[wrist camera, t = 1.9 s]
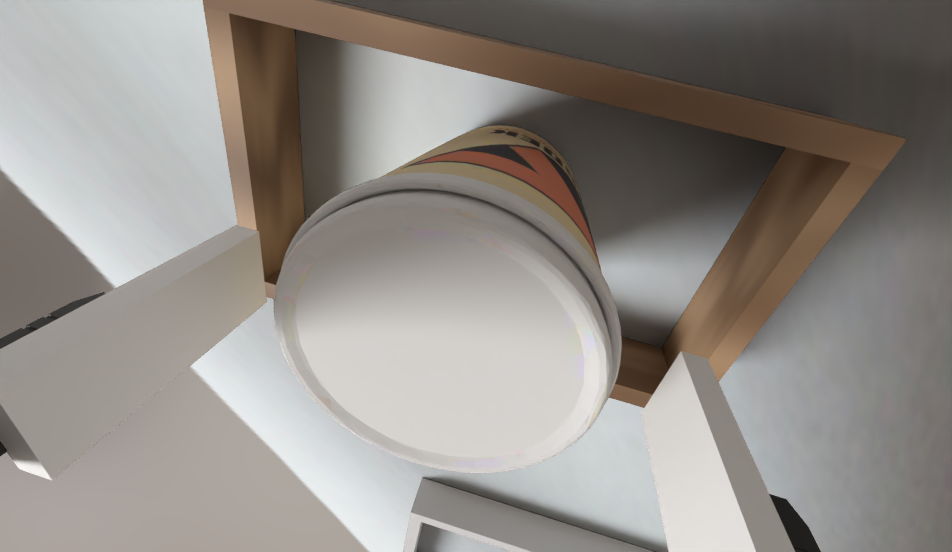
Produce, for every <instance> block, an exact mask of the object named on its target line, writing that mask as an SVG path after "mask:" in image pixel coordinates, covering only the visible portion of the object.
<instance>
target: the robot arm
mask: <svg viewBox="0 0 952 552" xmlns="http://www.w3.org/2000/svg"><path fill="white" fill-rule="evenodd" d="M266 302H267V299H266V290H265V281H264V272H263V263H262V254H261V245H260V236H259V231H255V230H252V229H248V228H245V227H241V226H238V225H236V226H234V227H232V228H230V229H228V230H226V231H224V232H222V233H220V234H219V235H217V236H215V237H213V238H211V239H209V240H207V241H205V242H203V243H201V244H199V245H198V246H196V247H194V248H192V249H190V250H188V251H186V252H184V253H182V254H180V255H179V256H177V257H175V258H173V259H171V260H169V261H167V262H165V263H163V264H161V265H159V266H158V267H156V268H154V269H152V270H150V271H148V272H146V273H144V274H142V275H140V276H138V277H137V278H135V279H133V280H131V281H129V282H127V283H125V284H123V285H121V286H119V287H118V288H116V289H114V290H112V291H110V292H108V293H104V292H103V293H100V294H96V295H93V296H90V297H87V298H83V299H80V300H77V301H74V302H72V303H70V304H68V305H66V306H64V307H62V308H60V309H58V310H56V311H54V312H52V313H50V314H48V317H46V318H44V317H42V318H40V319H38V320H36V321H34V322H32V323H30V324H28V325H27V327H26V328H25V329H22V328H20V329H18V330H16V331H14V332H13V333H10V334H9V335H7V336H5V337H3V338H1V339H0V456H1V455H3V454H4V453H6V452H7V453H8V454H9V456H10V457H11V458H12V460H13V461H14V462H15V464H16V465H17V466H18V468H19V469H21V470H24V471H27V472H29V473H32V474H35V475H38V476H41V477H44V478H47V479H50V480H54V479H55V478H56V477H57V476H59V475H60V474H61V473H62V472H63V471H65V470H66V469H67V468H68V467H69V466H71V465H72V464H73V463H74V462H75V461H77V460H78V459H79V458H80V457H81V456H82V455H84V454H85V453H86V452H87V451H89V450H90V449H91V448H92V447H93V446H95V445H96V444H97V443H98V442H99V441H100V440H102V439H103V438H104V437H105V436H107V435H108V434H109V433H110V432H111V431H113V430H114V429H115V428H116V427H117V426H119V425H120V424H121V423H122V422H123V421H124V420H126V419H127V418H128V417H129V416H131V415H132V414H133V413H134V412H135V411H137V410H138V409H139V408H140V407H141V406H143V405H144V404H145V403H146V402H147V401H149V400H150V399H151V398H152V397H153V396H155V395H156V394H157V393H158V392H159V391H160V390H162V389H163V388H164V387H165V386H167V385H168V384H169V383H170V382H171V381H173V380H174V379H175V378H176V377H177V376H178V375H180V374H181V373H182V372H183V371H184V370H186V369H187V368H188V367H189V366H191V365H192V364H193V363H194V362H195V361H197V360H198V359H199V358H200V357H201V356H203V355H204V354H205V353H206V352H207V351H209V350H210V349H211V348H212V347H213V346H215V345H216V344H217V343H218V342H219V341H221V340H222V339H223V338H224V337H225V336H227V335H228V334H229V333H230V332H231V331H233V330H234V329H235V328H236V327H237V326H239V325H240V324H241V323H242V322H243V321H245V320H246V319H247V318H248V317H249V316H251V315H252V314H253V313H254V312H255V311H257V310H258V309H259V308H260V307H261V306H263V305H264V304H265V303H266ZM641 416H642V421H643V426H644V431H645V436H646V441H647V446H648V451H649V456H650V461H651V466H652V471H653V476H654V481H655V486H656V491H657V496H658V501H659V506H660V511H661V516H662V521H663V526H664V531H665V536H666V541H667V546H668V551H669V552H821V551H820V549H819V547H818V545H817V543H816V541H815V539H814V537H813V535H812V533H811V531H810V529H809V527H808V526H807V525H806V523H805V522H804V521H803V520H802V518H801V517H800V516H799V515H798V513H797V512H796V511H795V510H794V508H793V507H792V506H791V505H790V503H789V502H788V501H787V500H786V499H784V498H780V497H777V496H774V495H770V494H769V493H768V491H767V488H766V486H765V484H764V482H763V480H762V477H761V475H760V473H759V471H758V469H757V466H756V464H755V462H754V460H753V458H752V455H751V453H750V451H749V449H748V446H747V444H746V442H745V440H744V438H743V435H742V433H741V431H740V429H739V427H738V424H737V422H736V420H735V418H734V416H733V413H732V411H731V409H730V407H729V405H728V402H727V400H726V398H725V396H724V394H723V391H722V389H721V387H720V385H719V382H718V380H717V378H716V376H715V374H714V371H713V369H712V367H711V365H710V363H709V360H708V359H707V358H703V357H700V356H696V355H693V354H689V353H686V352H682V351H681V352H680V353H679V355H678V356H677V358H676V359H675V361H674V363H673V364H672V366H671V367H670V369H669V370H668V372H667V373H666V375H665V377H664V378H663V380H662V381H661V383H660V384H659V386H658V387H657V389H656V391H655V392H654V394H653V395H652V397H651V398H650V400H649V401H648V403H647V405H646V406H645V408H644V409H643V411H642V412H641Z"/></svg>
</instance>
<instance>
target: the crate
mask: <svg viewBox="0 0 952 552" xmlns="http://www.w3.org/2000/svg"><path fill="white" fill-rule="evenodd" d="M203 5H204V12H205V18H206V24H207V31H208V37H209V44H210V50H211V56H212V63H213V69H214V76H215V82H216V88H217V95H218V101H219V107H220V114H221V120H222V127H223V133H224V139H225V146H226V152H227V158H228V165H229V171H230V178H231V184H232V190H233V197H234V203H235V210H236V216H237V222H238V226H241V227H245V228H248V229H252V230H255V231H259V236H260V245H261V254H262V263H263V272H264V281H265V290H266V297H269V298H272V299H274V296H275V289H276V283H277V280H278V277H279V274H280V271H281V267H282V263H283V260H284V257H285V254H286V251H287V249H288V247H289V245H290V243H291V241H292V239H293V238H294V236H295V235H296V233H297V232H298V230H299V229H300V227H301V226H302V225H303V224H304V223H305V216H304V197H303V178H302V159H301V140H300V121H299V102H298V83H297V64H296V45H295V29H297V30H301V31H306V32H310V33H314V34H318V35H322V36H326V37H331V38H335V39H339V40H343V41H347V42H351V43H355V44H360V45H364V46H368V47H372V48H376V49H380V50H385V51H389V52H393V53H397V54H401V55H405V56H409V57H414V58H418V59H422V60H426V61H430V62H434V63H439V64H443V65H447V66H451V67H455V68H459V69H463V70H468V71H472V72H476V73H480V74H484V75H488V76H493V77H497V78H501V79H505V80H509V81H513V82H517V83H522V84H526V85H530V86H534V87H538V88H542V89H547V90H551V91H555V92H559V93H563V94H567V95H572V96H576V97H580V98H584V99H588V100H592V101H596V102H601V103H605V104H609V105H613V106H617V107H621V108H626V109H630V110H634V111H638V112H642V113H646V114H650V115H655V116H659V117H663V118H667V119H671V120H675V121H680V122H684V123H688V124H692V125H696V126H700V127H704V128H709V129H713V130H717V131H721V132H725V133H729V134H734V135H738V136H742V137H746V138H750V139H754V140H758V141H763V142H767V143H771V144H775V145H779V146H783V147H786V148H785V150H784V151H783V153H782V154H781V156H780V158H779V159H778V161H777V163H776V164H775V166H774V167H773V169H772V171H771V172H770V174H769V175H768V177H767V179H766V180H765V182H764V184H763V185H762V187H761V188H760V190H759V192H758V193H757V195H756V196H755V198H754V200H753V201H752V203H751V205H750V206H749V208H748V209H747V211H746V213H745V214H744V216H743V217H742V219H741V221H740V222H739V224H738V226H737V227H736V229H735V230H734V232H733V234H732V235H731V237H730V238H729V240H728V242H727V243H726V245H725V247H724V248H723V250H722V251H721V253H720V255H719V256H718V258H717V259H716V261H715V263H714V264H713V266H712V268H711V269H710V271H709V272H708V274H707V276H706V277H705V279H704V280H703V282H702V284H701V285H700V287H699V289H698V290H697V292H696V293H695V295H694V297H693V298H692V300H691V301H690V303H689V305H688V306H687V308H686V310H685V311H684V313H683V314H682V316H681V318H680V319H679V321H678V322H677V324H676V326H675V327H674V329H673V331H672V332H671V334H670V335H669V337H668V339H667V340H666V342H665V343H664V345H663V347H662V348H659V347H656V346H652V345H649V344H645V343H641V342H638V341H634V340H631V339H627V338H624V337H621V341H622V348H621V361H620V367H619V372H618V376H617V379H616V382H615V385H614V387H613V390H612V392H611V394H610V396H609V398H613V399H616V400H619V401H623V402H626V403H630V404H633V405H636V406H640V407H643V408H645V406H646V405H647V403H648V401H649V400H650V398H651V397H652V395H653V394H654V392H655V391H656V389H657V387H658V386H659V384H660V383H661V381H662V380H663V378H664V377H665V375H666V373H667V372H668V370H669V369H670V367H671V366H672V364H673V363H674V361H675V359H676V358H677V356H678V355H679V353H680V352H681V351H682V352H686V353H689V354H693V355H696V356H700V357H703V358H707V359H708V360H709V363H710V365H711V367H712V369H713V371H714V374H715V376H716V378H717V380H718V382H719V381H720V379H721V378H722V377H723V376H724V374H725V373H726V372H727V370H728V369H729V368H730V367H731V365H732V364H733V363H734V361H735V360H736V359H737V358H738V356H739V355H740V354H741V352H742V351H743V350H744V349H745V347H746V346H747V345H748V343H749V342H750V341H751V340H752V338H753V337H754V336H755V334H756V333H757V332H758V331H759V329H760V328H761V327H762V325H763V324H764V323H765V322H766V320H767V319H768V318H769V316H770V315H771V314H772V313H773V311H774V310H775V309H776V307H777V306H778V305H779V304H780V302H781V301H782V300H783V298H784V297H785V296H786V295H787V293H788V292H789V291H790V289H791V288H792V287H793V286H794V284H795V283H796V282H797V280H798V279H799V278H800V277H801V275H802V274H803V273H804V271H805V270H806V269H807V268H808V266H809V265H810V264H811V262H812V261H813V260H814V259H815V257H816V256H817V255H818V253H819V252H820V251H821V250H822V248H823V247H824V246H825V244H826V243H827V242H828V241H829V239H830V238H831V237H832V235H833V234H834V233H835V232H836V230H837V229H838V228H839V226H840V225H841V224H842V223H843V221H844V220H845V219H846V218H847V216H848V215H849V214H850V212H851V211H852V210H853V209H854V207H855V206H856V205H857V203H858V202H859V201H860V200H861V198H862V197H863V196H864V194H865V193H866V192H867V191H868V189H869V188H870V187H871V185H872V184H873V183H874V182H875V180H876V179H877V178H878V176H879V175H880V174H881V173H882V171H883V170H884V169H885V167H886V166H887V165H888V164H889V162H890V161H891V160H892V158H893V157H894V156H895V155H896V153H897V152H898V151H899V149H900V148H901V147H902V146H903V144H904V143H905V142H906V140H907V139H905V138H902V137H898V136H895V135H891V134H888V133H884V132H881V131H877V130H874V129H871V128H867V127H864V126H860V125H857V124H853V123H850V122H846V121H843V120H839V119H836V118H832V117H828V116H824V115H819V114H815V113H811V112H807V111H802V110H798V109H794V108H789V107H785V106H781V105H777V104H772V103H768V102H764V101H759V100H755V99H751V98H747V97H742V96H738V95H734V94H729V93H725V92H721V91H717V90H712V89H708V88H704V87H699V86H695V85H691V84H687V83H682V82H678V81H674V80H670V79H665V78H661V77H657V76H652V75H648V74H644V73H640V72H635V71H631V70H627V69H622V68H618V67H614V66H610V65H605V64H601V63H597V62H592V61H588V60H584V59H580V58H575V57H571V56H567V55H562V54H558V53H554V52H550V51H545V50H541V49H537V48H533V47H528V46H524V45H520V44H515V43H511V42H507V41H503V40H498V39H494V38H490V37H485V36H481V35H477V34H473V33H468V32H464V31H460V30H455V29H451V28H447V27H443V26H438V25H434V24H430V23H425V22H421V21H417V20H413V19H408V18H404V17H400V16H396V15H391V14H387V13H383V12H378V11H374V10H370V9H366V8H361V7H357V6H353V5H348V4H344V3H340V2H336V1H331V0H203Z"/></svg>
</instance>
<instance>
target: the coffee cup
mask: <svg viewBox="0 0 952 552" xmlns="http://www.w3.org/2000/svg"><path fill="white" fill-rule="evenodd" d="M274 318H275V328H276V331H277V335H278V338H279V342H280V345H281V348H282V351H283V354H284V356H285V358H286V360H287V362H288V364H289V366H290V367H291V369H292V371H293V373H294V374H295V376H296V378H297V379H298V380H299V382H300V383H301V385H302V386H303V387H304V389H305V390H306V391H307V392H308V393H309V395H310V396H311V397H312V398H313V399H314V400H315V401H316V403H317V404H318V405H319V406H320V407H321V408H322V409H323V410H324V411H326V412H327V413H328V414H329V415H330V416H331V417H332V418H334V419H335V420H336V421H337V422H339V423H340V424H341V425H342V426H344V427H345V428H346V429H348V430H349V431H351V432H352V433H354V434H355V435H357V436H358V437H360V438H362V439H363V440H365V441H367V442H368V443H370V444H372V445H374V446H375V447H377V448H380V449H382V450H384V451H386V452H388V453H391V454H393V455H395V456H398V457H400V458H402V459H405V460H408V461H412V462H415V463H418V464H421V465H425V466H428V467H433V468H438V469H443V470H450V471H456V472H468V473H492V472H503V471H510V470H516V469H520V468H524V467H528V466H531V465H534V464H537V463H540V462H542V461H545V460H547V459H549V458H552V457H554V456H556V455H557V454H559V453H561V452H562V451H564V450H565V449H567V448H568V447H570V446H571V445H572V444H574V443H575V442H577V441H578V440H579V439H580V438H581V437H582V436H583V435H584V434H585V433H586V432H587V431H588V430H589V428H590V427H591V425H592V424H593V423H594V421H595V420H596V418H597V417H598V415H599V413H600V412H601V410H602V408H603V406H604V404H605V403H606V401H607V399H608V398H609V396H610V394H611V392H612V390H613V387H614V385H615V382H616V379H617V376H618V372H619V367H620V361H621V348H622V341H621V327H620V322H619V317H618V313H617V309H616V306H615V303H614V301H613V298H612V295H611V292H610V290H609V287H608V285H607V283H606V281H605V279H604V277H603V275H602V272H601V268H600V264H599V260H598V256H597V253H596V249H595V246H594V242H593V238H592V235H591V231H590V228H589V224H588V220H587V217H586V214H585V210H584V207H583V203H582V200H581V197H580V193H579V190H578V187H577V184H576V181H575V179H574V176H573V174H572V172H571V170H570V167H569V166H568V164H567V162H566V161H565V159H564V158H563V157H562V156H561V154H560V153H559V152H558V151H557V150H556V149H555V148H554V147H553V146H552V145H551V144H550V143H548V142H547V141H546V140H545V139H543V138H541V137H540V136H538V135H536V134H534V133H532V132H530V131H528V130H525V129H521V128H518V127H512V126H498V125H496V126H486V127H482V128H478V129H475V130H472V131H470V132H467V133H465V134H462V135H460V136H458V137H456V138H454V139H452V140H450V141H448V142H446V143H444V144H442V145H440V146H438V147H437V148H435V149H433V150H431V151H429V152H427V153H425V154H423V155H421V156H419V157H417V158H416V159H414V160H412V161H410V162H408V163H406V164H404V165H402V166H401V167H399V168H397V169H395V170H393V171H391V172H389V173H388V174H386V175H384V176H382V177H380V178H378V179H374V180H370V181H368V182H365V183H363V184H360V185H358V186H355V187H353V188H350V189H348V190H346V191H344V192H342V193H340V194H339V195H337V196H335V197H333V198H332V199H330V200H329V201H327V202H326V203H325V204H324V205H322V206H321V207H320V208H318V209H317V210H316V211H315V212H314V213H313V214H312V215H311V216H310V217H309V218H308V219H307V221H306V222H305V223H304V224H303V225H302V226H301V227H300V229H299V230H298V232H297V233H296V235H295V236H294V238H293V239H292V241H291V243H290V245H289V247H288V249H287V251H286V254H285V257H284V260H283V263H282V267H281V271H280V274H279V277H278V280H277V283H276V289H275V296H274Z"/></svg>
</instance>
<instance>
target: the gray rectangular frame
mask: <svg viewBox="0 0 952 552" xmlns="http://www.w3.org/2000/svg"><path fill="white" fill-rule="evenodd" d="M423 523H426V524H429V525H432V526H435V527H438V528H441V529H444V530H447V531H450V532H453V533H456V534H459V535H462V536H465V537H469V538H472V539H475V540H478V541H481V542H484V543H487V544H490V545H493V546H496V547H499V548H502V549H505V550H508V551H511V552H654V551H651V550H647V549H644V548H641V547H638V546H635V545H632V544H629V543H625V542H622V541H619V540H616V539H613V538H610V537H607V536H603V535H600V534H597V533H594V532H591V531H588V530H585V529H582V528H578V527H575V526H572V525H569V524H566V523H563V522H560V521H556V520H553V519H550V518H547V517H544V516H541V515H538V514H535V513H531V512H528V511H525V510H522V509H519V508H516V507H513V506H509V505H506V504H503V503H500V502H497V501H494V500H491V499H487V498H484V497H481V496H478V495H475V494H472V493H469V492H466V491H462V490H459V489H456V488H453V487H450V486H447V485H444V484H440V483H437V482H434V481H431V480H428V479H425V478H422V480H421V483H420V486H419V489H418V492H417V495H416V498H415V501H414V504H413V507H412V510H411V513H410V518H409V523H408V528H407V533H406V538H405V543H404V548H403V552H417V551H416V550H417V546H418V542H419V538H420V534H421V529H422V525H423Z"/></svg>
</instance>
